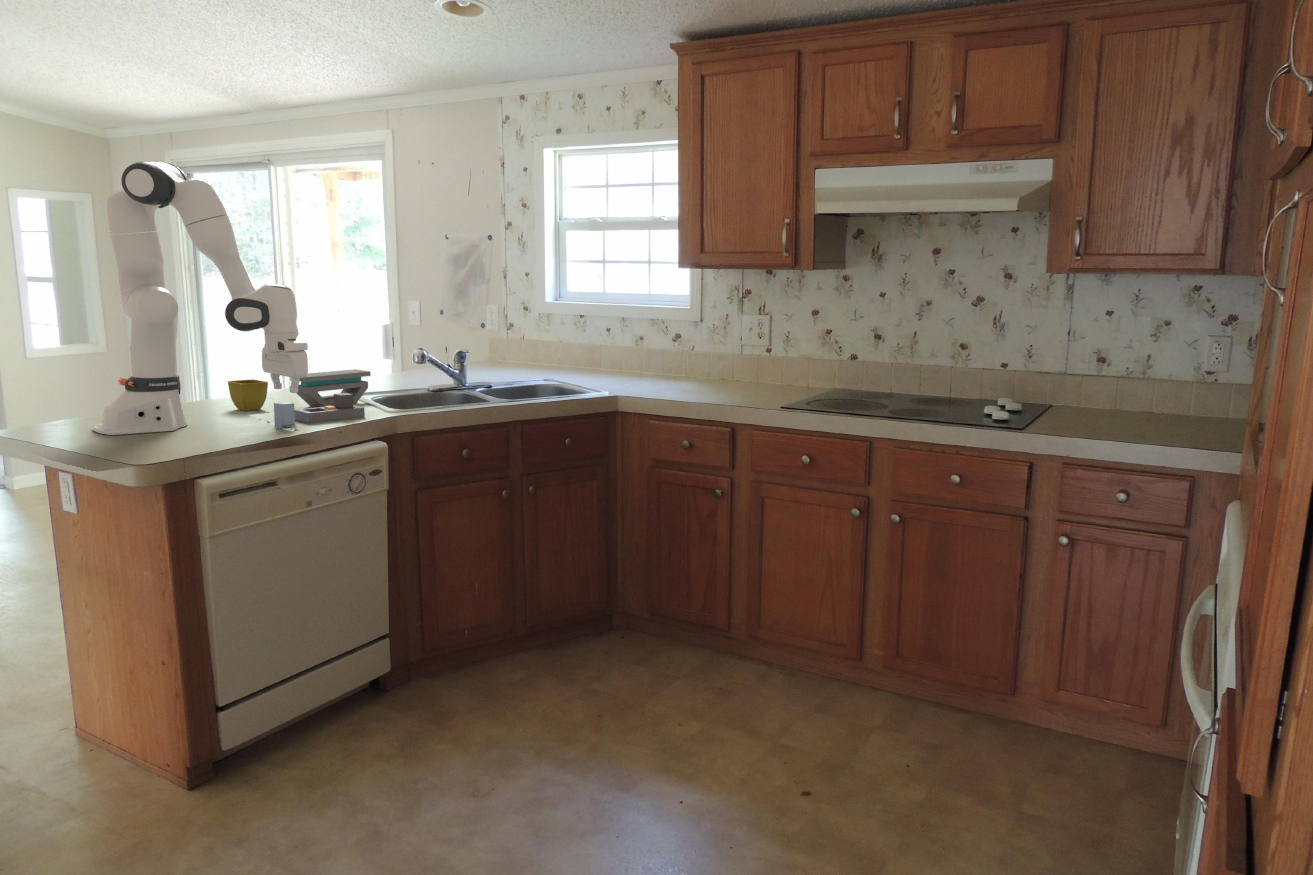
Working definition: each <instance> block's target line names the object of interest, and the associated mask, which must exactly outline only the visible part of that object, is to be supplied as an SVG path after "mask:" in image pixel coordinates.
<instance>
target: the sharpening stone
mask: <svg viewBox="0 0 1313 875" xmlns="http://www.w3.org/2000/svg"><path fill="white" fill-rule="evenodd" d="M371 376H372V375H371V371H370V370H369V371H368V370H362V369H355V368H354V369H345V370H334V371H321V372H320V371H319V372H310V373H309V372H308V374H307V376H306V377H305V378H300V383H299V385H298V393H295V394H296V395H297V396H299V397H300V399H302V400H303V401H304V402H305V403H306V404H307V405H308V406H309V407H310V408H317V407H324V406H334V394H332V395H325V396H324V395H320V393H321V392H327V391H329V392H330V391H338V390H341V392H340V393H349V394H353V405H356V404H357V403H358V401H360V399H361V398H362V397H363V395H364V394H365V393H366V391H367V390H368V389H369V381H366V380H362V378H363V377H371Z"/></svg>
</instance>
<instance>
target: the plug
mask: <svg viewBox="0 0 1313 875" xmlns="http://www.w3.org/2000/svg"><path fill="white" fill-rule="evenodd" d="M294 410H295V403H294V402H291V401H279V402H276V401H275V402H273V416H274V428H277V429H281V430H284V429H292V427H290V426H289V425H295V424H296V420H295V412H294ZM287 425H288V426H287Z"/></svg>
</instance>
